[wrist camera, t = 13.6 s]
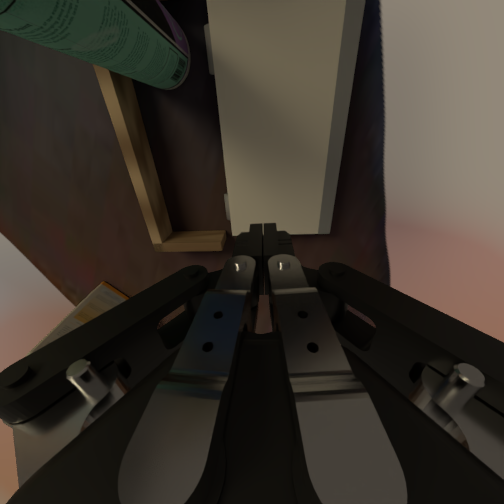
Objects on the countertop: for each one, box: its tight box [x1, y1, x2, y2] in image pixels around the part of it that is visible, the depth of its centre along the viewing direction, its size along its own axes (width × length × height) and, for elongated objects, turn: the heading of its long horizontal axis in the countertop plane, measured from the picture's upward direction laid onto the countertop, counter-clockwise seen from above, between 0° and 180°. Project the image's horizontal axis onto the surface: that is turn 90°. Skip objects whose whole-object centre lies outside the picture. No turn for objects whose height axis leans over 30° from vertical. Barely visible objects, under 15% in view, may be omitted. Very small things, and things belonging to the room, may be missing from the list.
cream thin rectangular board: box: [204, 0, 365, 236], centre depth 21 cm, size 21×2×13 cm
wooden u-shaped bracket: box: [93, 0, 226, 252], centre depth 22 cm, size 24×9×4 cm, turn 3°
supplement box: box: [25, 281, 129, 357], centre depth 31 cm, size 8×5×13 cm, turn 41°
